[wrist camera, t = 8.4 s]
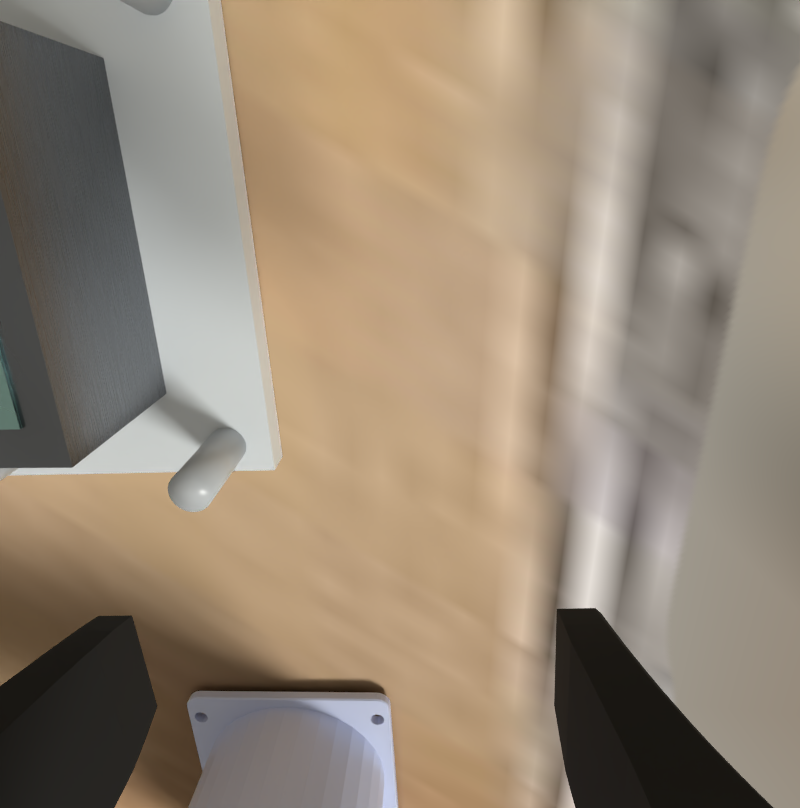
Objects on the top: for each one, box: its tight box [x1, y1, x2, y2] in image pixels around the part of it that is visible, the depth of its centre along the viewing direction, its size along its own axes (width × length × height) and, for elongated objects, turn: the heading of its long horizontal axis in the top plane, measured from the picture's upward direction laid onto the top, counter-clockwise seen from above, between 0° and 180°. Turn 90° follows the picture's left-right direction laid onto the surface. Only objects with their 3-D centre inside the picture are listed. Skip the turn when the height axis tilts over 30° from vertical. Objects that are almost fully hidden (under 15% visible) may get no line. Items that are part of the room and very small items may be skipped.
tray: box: [0, 0, 283, 512], centre depth 16 cm, size 14×10×4 cm
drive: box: [0, 21, 167, 468], centre depth 14 cm, size 9×4×5 cm, turn 2°
